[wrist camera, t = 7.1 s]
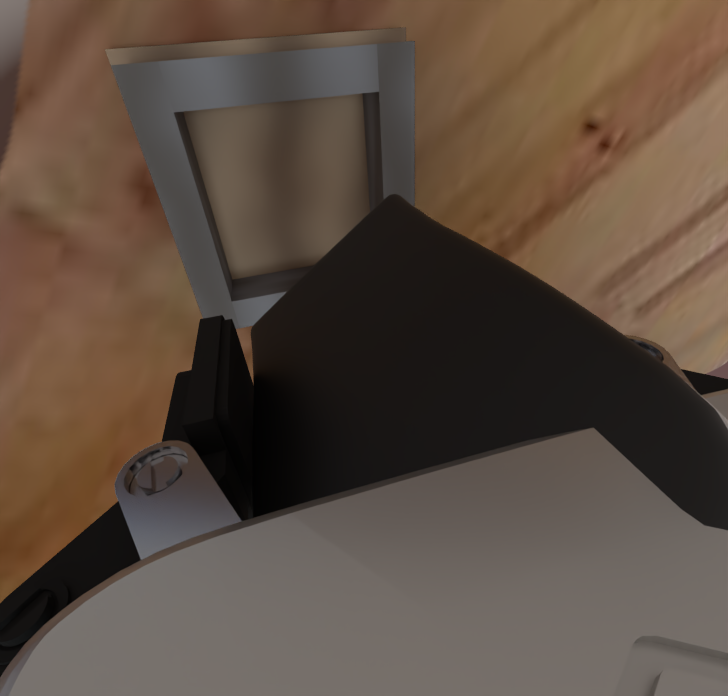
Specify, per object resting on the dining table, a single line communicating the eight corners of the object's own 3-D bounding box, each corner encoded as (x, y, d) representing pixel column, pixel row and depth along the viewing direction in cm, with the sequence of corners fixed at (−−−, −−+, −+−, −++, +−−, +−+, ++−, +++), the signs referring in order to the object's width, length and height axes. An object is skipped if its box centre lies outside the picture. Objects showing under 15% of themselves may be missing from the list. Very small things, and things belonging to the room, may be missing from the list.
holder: (398, 29, 23) (429, 19, 19) (403, 276, 32) (424, 301, 29) (110, 50, 21) (82, 43, 17) (205, 313, 30) (200, 346, 26)
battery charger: (318, 384, 15) (433, 824, 6) (241, 329, 13) (241, 877, 4) (457, 263, 14) (872, 596, 5) (396, 179, 12) (929, 492, 3)
